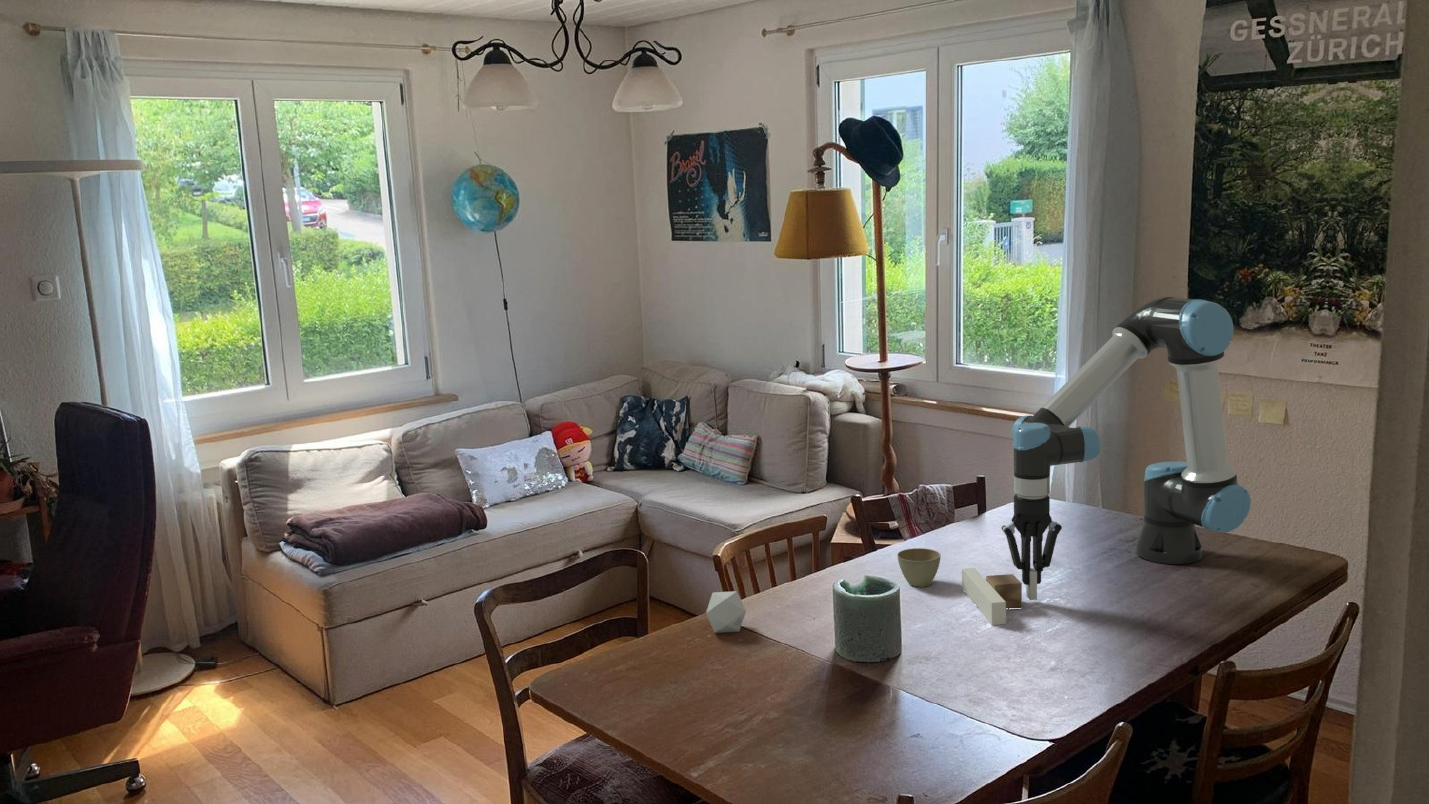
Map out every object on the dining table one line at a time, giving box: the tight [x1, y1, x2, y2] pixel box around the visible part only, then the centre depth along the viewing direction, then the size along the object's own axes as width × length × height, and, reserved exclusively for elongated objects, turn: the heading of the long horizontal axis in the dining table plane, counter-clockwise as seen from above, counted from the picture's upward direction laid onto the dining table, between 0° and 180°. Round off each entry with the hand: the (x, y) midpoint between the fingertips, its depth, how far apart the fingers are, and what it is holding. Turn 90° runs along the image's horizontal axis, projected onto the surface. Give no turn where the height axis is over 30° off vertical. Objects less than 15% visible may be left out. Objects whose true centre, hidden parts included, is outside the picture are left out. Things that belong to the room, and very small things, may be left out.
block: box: [985, 573, 1023, 609], centre depth 243 cm, size 6×6×6 cm
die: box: [705, 590, 747, 634], centre depth 236 cm, size 8×9×10 cm
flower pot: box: [896, 547, 942, 588], centre depth 259 cm, size 10×10×7 cm
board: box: [961, 567, 1007, 626], centre depth 243 cm, size 3×22×5 cm, turn 4°
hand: (1031, 597), depth 244 cm, fingers closed
